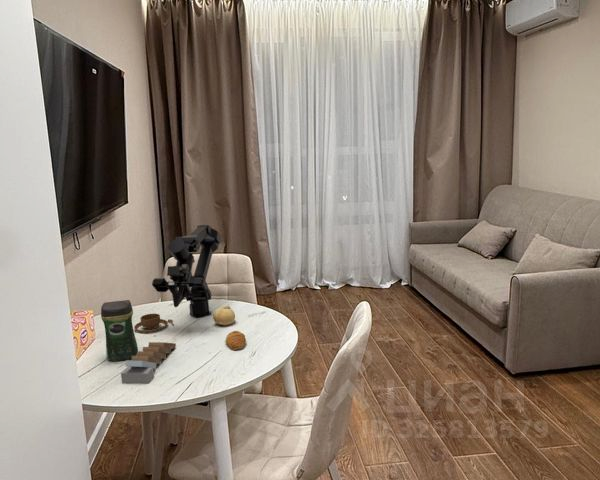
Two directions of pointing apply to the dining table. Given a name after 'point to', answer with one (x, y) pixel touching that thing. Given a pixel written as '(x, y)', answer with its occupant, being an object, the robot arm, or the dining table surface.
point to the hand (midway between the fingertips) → (175, 306)
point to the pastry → (235, 340)
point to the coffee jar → (119, 330)
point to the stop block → (137, 375)
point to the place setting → (151, 323)
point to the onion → (224, 316)
